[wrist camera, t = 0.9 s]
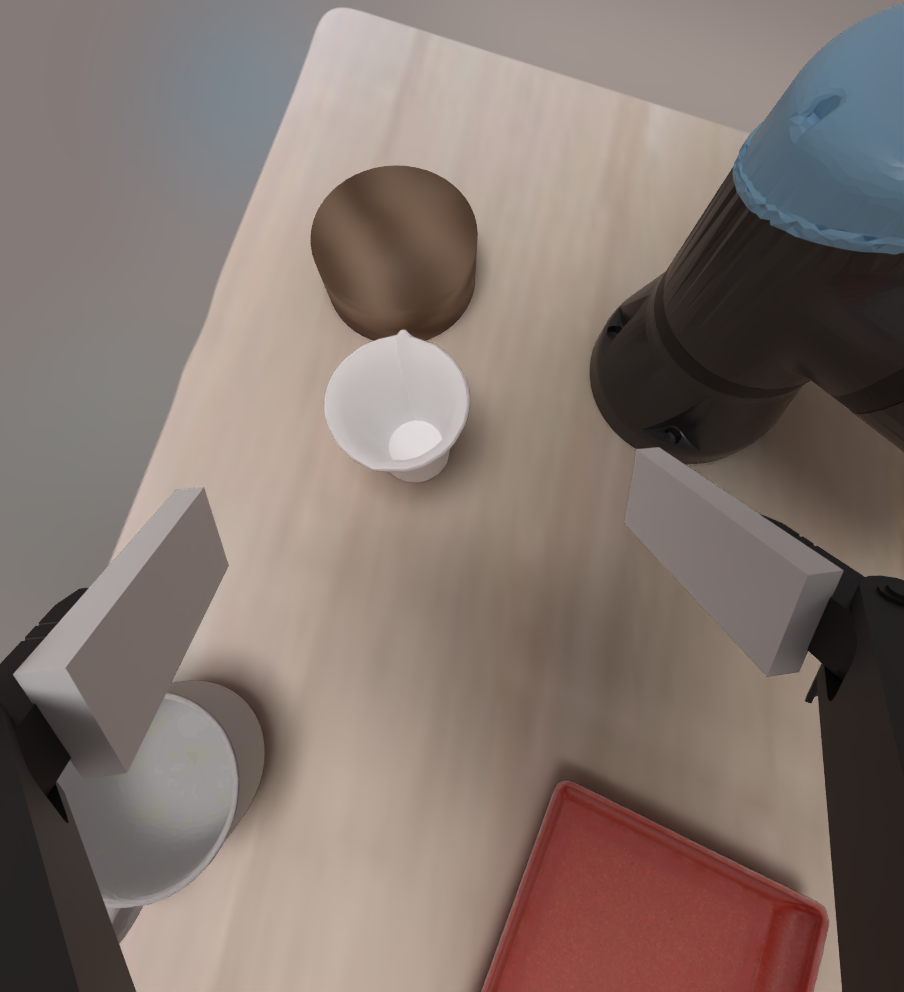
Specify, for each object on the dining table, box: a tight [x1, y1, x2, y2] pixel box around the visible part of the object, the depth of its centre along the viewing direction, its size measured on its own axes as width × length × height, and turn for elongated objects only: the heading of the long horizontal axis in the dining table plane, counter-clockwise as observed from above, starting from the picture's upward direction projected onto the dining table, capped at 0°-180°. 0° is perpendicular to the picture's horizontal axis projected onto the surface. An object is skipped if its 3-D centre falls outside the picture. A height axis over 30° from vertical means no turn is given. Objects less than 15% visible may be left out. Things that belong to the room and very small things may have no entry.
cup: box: [324, 330, 470, 483], centre depth 32 cm, size 9×9×10 cm
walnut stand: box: [311, 166, 478, 341], centre depth 38 cm, size 13×13×5 cm
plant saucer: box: [481, 780, 829, 992], centre depth 29 cm, size 18×18×3 cm
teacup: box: [57, 681, 265, 943], centre depth 29 cm, size 14×11×8 cm
